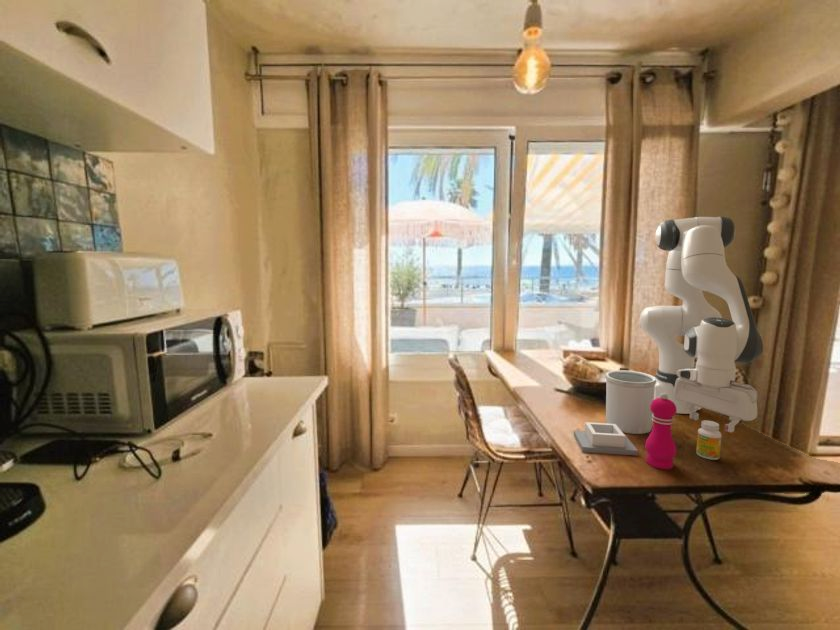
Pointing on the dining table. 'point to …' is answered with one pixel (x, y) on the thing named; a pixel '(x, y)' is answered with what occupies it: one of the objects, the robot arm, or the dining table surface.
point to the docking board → (604, 439)
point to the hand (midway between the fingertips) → (710, 425)
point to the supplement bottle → (709, 440)
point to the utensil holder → (630, 400)
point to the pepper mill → (661, 434)
